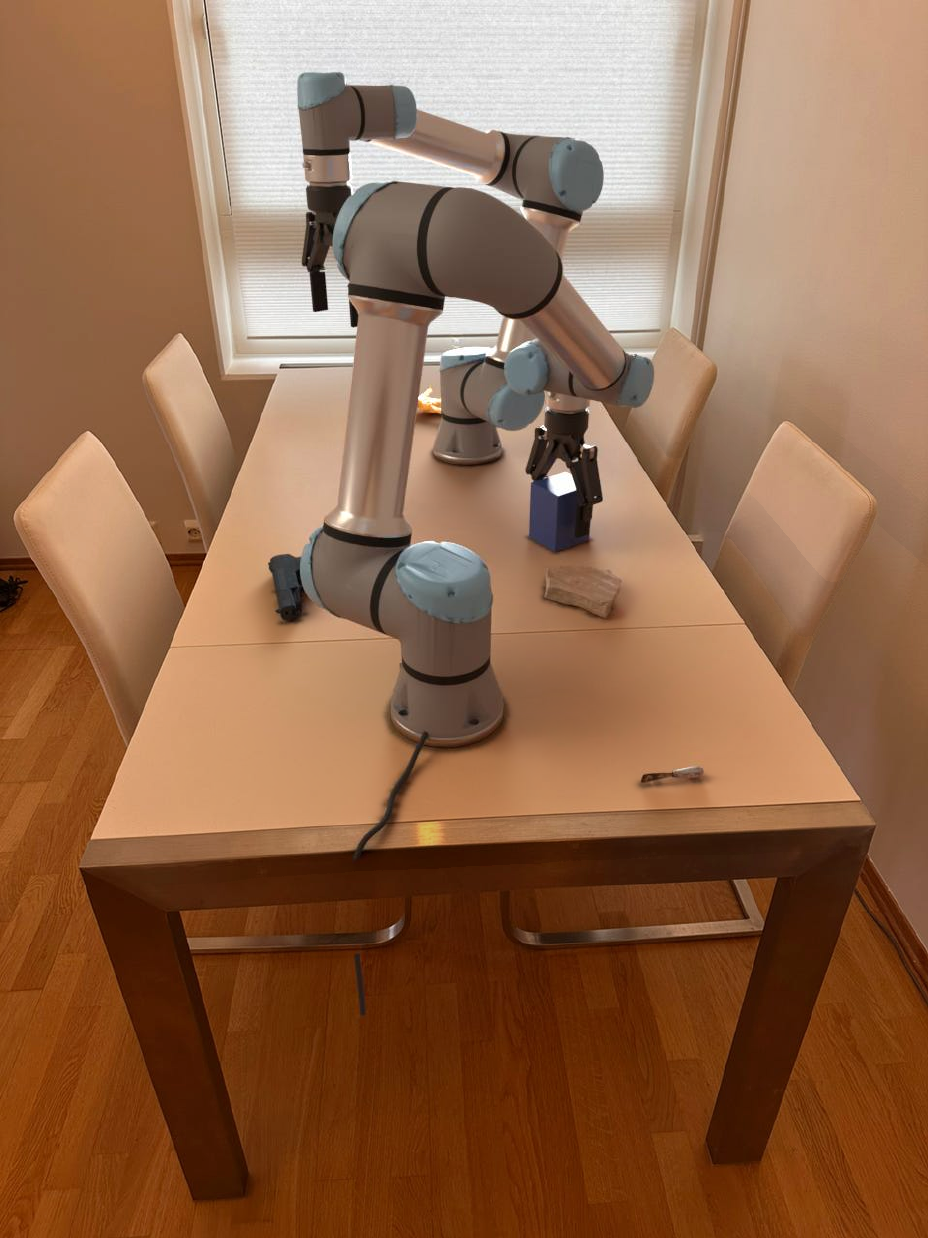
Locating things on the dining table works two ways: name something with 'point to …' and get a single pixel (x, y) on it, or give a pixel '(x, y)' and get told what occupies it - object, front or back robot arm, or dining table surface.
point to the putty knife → (674, 774)
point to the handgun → (287, 584)
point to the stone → (583, 588)
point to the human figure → (429, 402)
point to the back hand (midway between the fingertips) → (339, 318)
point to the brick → (554, 512)
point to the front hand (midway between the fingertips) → (560, 524)
